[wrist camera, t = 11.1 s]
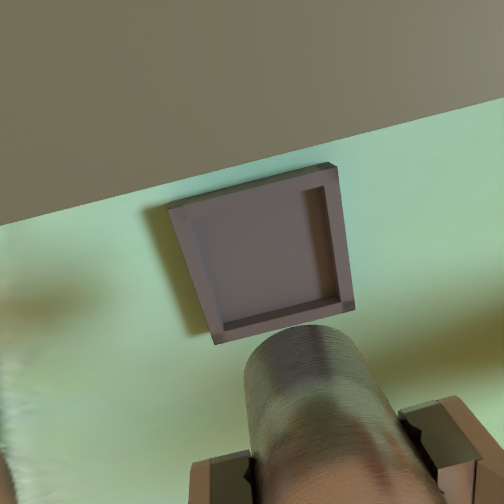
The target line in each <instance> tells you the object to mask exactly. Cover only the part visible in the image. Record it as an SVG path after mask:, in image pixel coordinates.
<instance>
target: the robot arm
mask: <svg viewBox="0 0 504 504" xmlns="http://www.w3.org/2000/svg"><path fill="white" fill-rule="evenodd" d="M398 418H399V420H400V422H401V424H402V425H403V427H404V429H405V430H406V432H407V434H408V436H409V437H410V439H411V441H412V442H413V444H414V446H415V448H416V449H417V451H418V453H419V454H420V456H421V458H422V460H423V461H424V463H425V465H426V466H427V468H428V470H429V471H430V473H431V475H432V477H433V478H434V480H435V482H436V483H437V485H438V487H439V489H440V490H441V492H442V494H443V495H444V497H445V499H446V501H447V502H448V504H504V450H503V449H502V448H501V446H500V445H499V444H498V443H497V442H496V441H495V439H494V438H493V437H492V436H491V435H490V433H489V432H488V431H487V430H486V429H485V427H484V426H483V425H482V424H481V423H480V421H479V420H478V419H477V418H476V417H475V415H474V414H473V413H472V412H471V411H470V409H469V408H468V407H467V406H466V405H465V403H464V402H463V401H462V400H461V399H460V398H459V397H457V396H450V397H446V398H443V399H439V400H436V401H435V400H433V401H429V402H425V403H422V404H418V405H415V406H411V407H407V408H404V409H400V410H399V411H398ZM188 504H257V498H256V489H255V478H254V470H253V461H252V456H251V453H250V451H249V449H248V450H244V451H240V452H235V453H231V454H227V455H223V456H219V457H215V458H210V459H206V460H202V461H198V462H194V463H192V467H191V470H190V485H189V501H188Z"/></svg>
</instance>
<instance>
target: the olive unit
mask: <svg viewBox="0 0 504 504" xmlns="http://www.w3.org/2000/svg"><path fill="white" fill-rule="evenodd" d="M503 97H504V0H0V226H1V225H5V224H9V223H13V222H17V221H21V220H25V219H29V218H32V217H36V216H40V215H44V214H48V213H52V212H56V211H60V210H64V209H68V208H72V207H76V206H80V205H83V204H87V203H91V202H95V201H99V200H103V199H107V198H111V197H115V196H119V195H123V194H127V193H130V192H134V191H138V190H142V189H146V188H150V187H154V186H158V185H162V184H166V183H170V182H174V181H177V180H181V179H185V178H189V177H193V176H197V175H201V174H205V173H209V172H213V171H217V170H221V169H225V168H228V167H232V166H236V165H240V164H244V163H248V162H252V161H256V160H260V159H264V158H268V157H272V156H275V155H279V154H283V153H287V152H291V151H295V150H299V149H303V148H307V147H311V146H315V145H319V144H322V143H326V142H330V141H334V140H338V139H342V138H346V137H350V136H354V135H358V134H362V133H366V132H370V131H373V130H377V129H381V128H385V127H389V126H393V125H397V124H401V123H405V122H409V121H413V120H417V119H420V118H424V117H428V116H432V115H436V114H440V113H444V112H448V111H452V110H456V109H460V108H464V107H467V106H471V105H475V104H479V103H483V102H487V101H491V100H495V99H499V98H503Z"/></svg>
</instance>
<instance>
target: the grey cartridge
mask: <svg viewBox="0 0 504 504" xmlns="http://www.w3.org/2000/svg"><path fill="white" fill-rule="evenodd" d="M244 390H245V399H246V408H247V417H248V426H249V435H250V444H251V453H252V461H253V470H254V478H255V489H256V498H257V504H448V502H447V501H446V499H445V497H444V495H443V494H442V492H441V490H440V489H439V487H438V485H437V483H436V482H435V480H434V478H433V477H432V475H431V473H430V471H429V470H428V468H427V466H426V465H425V463H424V461H423V460H422V458H421V456H420V454H419V453H418V451H417V449H416V448H415V446H414V444H413V442H412V441H411V439H410V437H409V436H408V434H407V432H406V430H405V429H404V427H403V425H402V424H401V422H400V420H399V418H398V417H397V415H396V413H395V412H394V410H393V408H392V406H391V405H390V403H389V401H388V400H387V398H386V396H385V394H384V393H383V391H382V389H381V388H380V386H379V384H378V382H377V381H376V379H375V377H374V376H373V374H372V372H371V371H370V369H369V367H368V365H367V364H366V362H365V360H364V359H363V357H362V355H361V353H360V352H359V350H358V348H357V347H356V345H355V344H354V342H353V341H352V340H351V339H350V338H349V337H348V336H346V335H345V334H344V333H342V332H340V331H338V330H336V329H334V328H331V327H327V326H321V325H301V326H296V327H291V328H288V329H285V330H283V331H280V332H278V333H276V334H274V335H273V336H271V337H269V338H268V339H266V340H265V341H264V342H262V343H261V344H260V345H259V346H258V347H257V348H256V349H255V351H254V352H253V353H252V355H251V356H250V358H249V359H248V362H247V364H246V367H245V370H244Z"/></svg>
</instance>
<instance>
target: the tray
mask: <svg viewBox="0 0 504 504" xmlns="http://www.w3.org/2000/svg"><path fill="white" fill-rule="evenodd" d="M167 211H168V214H169V217H170V219H171V222H172V225H173V228H174V231H175V234H176V236H177V239H178V242H179V245H180V248H181V251H182V254H183V256H184V259H185V262H186V265H187V268H188V271H189V274H190V276H191V279H192V282H193V285H194V288H195V291H196V293H197V296H198V299H199V302H200V305H201V308H202V311H203V313H204V316H205V319H206V322H207V325H208V328H209V331H210V333H211V336H212V339H213V342H214V345H217V344H221V343H225V342H229V341H233V340H237V339H241V338H245V337H249V336H253V335H257V334H261V333H265V332H269V331H273V330H277V329H281V328H285V327H289V326H293V325H297V324H301V323H305V322H309V321H313V320H317V319H321V318H325V317H329V316H333V315H337V314H341V313H345V312H349V311H353V310H355V303H354V295H353V287H352V279H351V271H350V264H349V256H348V248H347V240H346V232H345V225H344V217H343V209H342V201H341V193H340V185H339V178H338V170H337V166H335V165H333V164H331V163H329V162H326V163H322V164H318V165H314V166H311V167H307V168H303V169H299V170H295V171H291V172H287V173H283V174H279V175H275V176H271V177H267V178H263V179H259V180H256V181H252V182H248V183H244V184H240V185H236V186H232V187H228V188H224V189H220V190H216V191H212V192H208V193H204V194H201V195H197V196H193V197H189V198H185V199H181V200H177V201H173V202H171V203H170V205H169V207H168V209H167Z"/></svg>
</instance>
